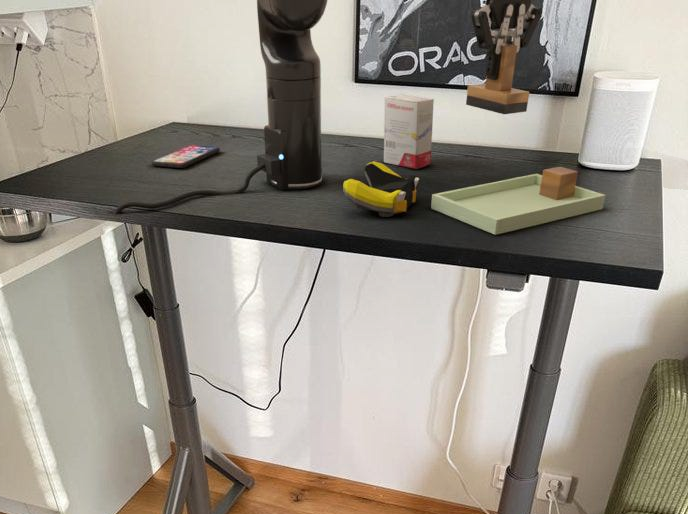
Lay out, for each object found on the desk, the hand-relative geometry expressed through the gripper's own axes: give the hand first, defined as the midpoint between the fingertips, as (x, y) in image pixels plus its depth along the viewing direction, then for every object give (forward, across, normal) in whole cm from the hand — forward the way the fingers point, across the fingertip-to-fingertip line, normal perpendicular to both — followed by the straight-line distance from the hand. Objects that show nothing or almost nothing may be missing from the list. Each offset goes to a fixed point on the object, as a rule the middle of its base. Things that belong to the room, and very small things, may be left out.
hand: (499, 78), depth 123 cm
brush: (+5, 0, 0) cm, 5 cm away
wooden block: (+16, -3, +15) cm, 22 cm away
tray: (+17, +6, +15) cm, 23 cm away
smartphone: (+17, +41, -44) cm, 62 cm away
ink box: (+17, +5, -18) cm, 25 cm away
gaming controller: (+17, +24, +2) cm, 30 cm away
